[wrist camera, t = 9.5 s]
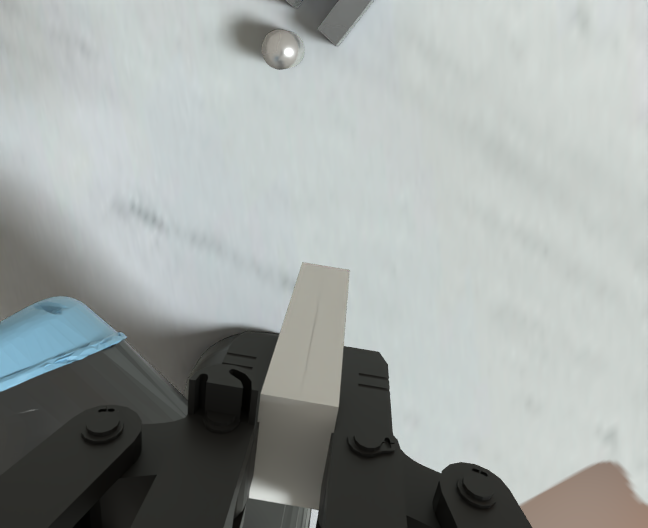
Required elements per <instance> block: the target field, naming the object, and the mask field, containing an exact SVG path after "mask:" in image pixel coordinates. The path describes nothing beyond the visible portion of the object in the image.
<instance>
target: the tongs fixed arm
mask: <svg viewBox="0 0 648 528" xmlns="http://www.w3.org/2000/svg"><path fill="white" fill-rule="evenodd" d="M373 2H374V0H339V1H338V2H337V3H336V5H335V6H334V7H333V9H332V10H331V11H330V13H329V14H328V15H327V17H326V18H325V19H324V20H323V22H322V23H321V24H320V26H319V27H318V28H317V29H318V30H319V31H320V32H321V33H322V34H323V35H324V36H325V37H326V38H328V39H329V40H330V41H331V42H332V43H333V44H334V45H335V46H339V45H340V44H341V42H342V41H343V40H344V39H345V37H346V36H347V35H348V34H349V32H350V31H351V30H352V28H353V27H354V26H355V25H356V23H357V22H358V21H359V20H360V18H361V17H362V16H363V14H364V13H365V12H366V11H367V9H368V8H369V7H370V5H371V4H372V3H373ZM304 51H305V49H304V44H303V41H302V40H301V38H300V37H299V36H298V35H297V34H295V33H293V32H290V31H286V30H281V29H277V30H273V31H271V32H270V33H268V34H267V35H266V37H265V38H264V40H263V43H262V55H263V58H264V60H265V61H266V63H267V64H268V65H269V66H271V67H272V68H275V69H279V70H280V69H287V68H293V67H295V66H297V65H298V64H299V63H300V62H301V61H302V59H303V57H304Z"/></svg>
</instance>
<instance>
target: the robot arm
mask: <svg viewBox="0 0 648 528" xmlns="http://www.w3.org/2000/svg"><path fill="white" fill-rule="evenodd" d="M349 272H350V270H347V269H341V268H334V267H328V266H322V265H316V264H310V263H304V262H302V265H301V268H300V271H299V275H298V278H297V281H296V284H295V287H294V290H293V293H292V297H291V300H290V303H289V306H288V309H287V312H286V315H285V319H284V322H283V325H282V328H281V331H280V334H279V335H278V334H273V333H263V332H248V331H245V332H244V333H242V334H238V335H234V336H231V337H228V338H226V339H224V340H222V341H220V342H218V343H216V344H215V345H213V346H212V347H211V348H209V349H208V350H207V351H206V352H205V353H204V354H203V355H202V357H201V358H200V359H199V361H198V362H197V364H196V366H195V368H194V369H193V371H192V373H191V375H190V376H189V379H188V381H187V384H186V387H185V391H184V396H183V395H182V394H181V393H180V392H179V391H178V390H177V389H176V388H175V387H174V386H172V385H171V384H170V383H169V382H168V381H167V380H166V379H165V378H164V377H163V376H162V375H161V374H160V373H159V372H158V371H157V370H155V369H154V368H153V367H152V366H151V365H150V364H149V363H148V362H147V361H146V360H145V359H144V358H143V357H142V356H141V355H140V354H139V353H138V352H137V351H135V350H134V349H133V348H132V347H131V346H130V345H129V344H128V343H127V342H126V341H125V340H124V339H126V338H127V336H126V335H125V334H124V333H122V332H117V331H115V330H114V329H113V328H112V327H111V326H110V325H108V324H107V323H106V322H105V321H104V320H103V319H101V318H100V317H99V316H98V315H97V314H96V313H94V312H93V311H92V310H91V309H90V308H89V307H87V306H86V305H85V304H84V303H82V302H81V301H79V300H76V299H74V298H71V297H65V296H56V297H50V298H47V299H44V300H41V301H39V302H36V303H34V304H32V305H30V306H28V307H26V308H24V309H22V310H21V311H19V312H17V313H15V314H13V315H11V316H10V317H8V318H6V319H4V320H2V321H1V322H0V528H309V525H310V517H311V509H315V510H319V512H318V518H317V524H316V528H532V527H531V525H530V523H529V521H528V520H527V519H526V516H525V515H524V513H523V511H522V510H521V508H520V506H519V505H518V503H517V501H516V500H515V498H514V496H513V495H512V493H511V491H510V490H509V489H508V487H507V486H506V485H505V484H504V482H503V481H502V480H501V479H500V478H499V477H497V476H496V475H495V474H493V473H492V472H490V471H489V470H487V469H485V468H483V467H480V466H478V465H475V464H470V463H463V462H460V463H455V464H450V465H449V466H447V467H446V468H445V469H444V470H442V473H439V472H436V471H434V470H432V469H430V468H427V467H425V466H423V465H421V464H419V463H417V462H415V461H413V460H412V459H411V458H409V457H408V456H407V455H406V454H404V452H403V451H402V450H401V449H400V446H399V443H398V440H397V439H396V438H395V437H394V435H393V432H392V417H391V403H390V392H389V380H388V379H389V375H388V364H387V363H386V361H385V360H384V358H383V357H382V356H381V354H380V353H379V352H376V351H370V350H364V349H358V348H352V347H346V346H344V335H345V322H346V310H347V297H348V285H349Z"/></svg>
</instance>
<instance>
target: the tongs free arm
mask: <svg viewBox="0 0 648 528" xmlns="http://www.w3.org/2000/svg"><path fill="white" fill-rule="evenodd" d="M285 1H287V2H288V3H289V4H290V5H291V6H293V7H295V8H296V9H298V7H299V6H300V4H301V3H302V1H303V0H285Z"/></svg>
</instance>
